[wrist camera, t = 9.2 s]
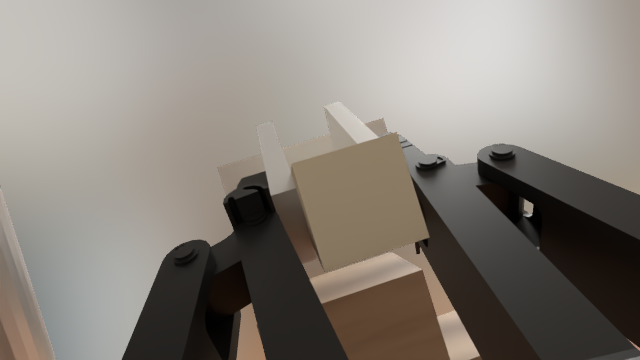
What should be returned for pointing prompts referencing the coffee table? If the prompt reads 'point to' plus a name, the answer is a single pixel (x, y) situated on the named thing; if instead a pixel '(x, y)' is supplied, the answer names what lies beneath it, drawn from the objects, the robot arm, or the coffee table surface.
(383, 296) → the stand
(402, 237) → the mallet
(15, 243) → the robot arm
